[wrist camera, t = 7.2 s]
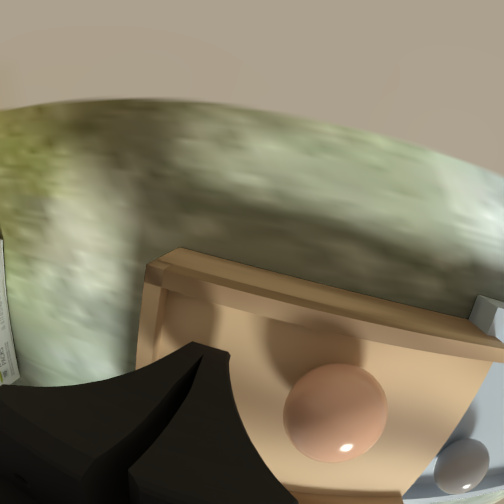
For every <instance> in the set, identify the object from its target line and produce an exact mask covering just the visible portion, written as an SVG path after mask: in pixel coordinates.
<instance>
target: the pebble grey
mask: <svg viewBox="0 0 504 504" xmlns="http://www.w3.org/2000/svg"><path fill="white" fill-rule="evenodd" d="M489 463H490V456H489V452H488V450H487V448H486V446H485V445H484V444H483V443H482V442H480V441H479V440H476V439H472V438H465V439H460V440H457V441H455V442H453V443H451V444H450V445H448V446H447V447H446V448H445V449H444V450H443V451H442V452H441V453H440V455H439V456H438V458H437V460H436V462H435V466H434V471H433V475H434V480H435V483H436V485H437V486H438V487H439V488H440V489H441V490H442V491H444V492H446V493H449V494H461V493H465V492H467V491H469V490H471V489H473V488H474V487H476V486H477V485H478V484H479V483H480V482H481V481H482V479H483V478H484V476H485V475H486V473H487V471H488V468H489Z"/></svg>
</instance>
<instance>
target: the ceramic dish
mask: <svg viewBox="0 0 504 504" xmlns="http://www.w3.org/2000/svg"><path fill="white" fill-rule="evenodd" d="M468 320H469V321H471V322H472V323H473V324H474V325H476V326H477V327H478V328H479V329H480V330H482V331H483V332H484V333H485V334H487V335H490V336H495V337H497V338H498V339H499V340H500V341H502V342H503V343H504V302H502V301H499V300H495V299H492V298H488V297H485V296H481V295H477V298H476V301H475V304H474V306H473V309H472V312H471V314H470V317H469V319H468ZM465 438H472V439H476V440H479V441H480V442H482V443H483V444H484V445H485V446H486V448H487V450H488V452H489V456H490V463H489V468H488V471H487V473H486V475H485V476H484V478H483V479H482V481H481V482H480V483H479V484H478V485H477V486H476V487H474V488H473V489H471V490H469V491H467V492H465V493H461V494H449V493H446V492H444V491H442V490H441V489H440V488H439V487H438V486H437V485H436V483H435V480H434V475H433V471H434V466H435V462H436V460H437V458H438V456H439V455H440V453H441V452H442V451H443V450H444V449H445V448H446V447H447V446H448V445H450V444H451V443H453V442H455V441H457V440H460V439H465ZM501 490H504V363H497V362H493V363H492V365H491V367H490V369H489V371H488V373H487V375H486V377H485V379H484V381H483V383H482V385H481V386H480V388H479V390H478V392H477V394H476V395H475V397H474V399H473V401H472V402H471V404H470V406H469V407H468V409H467V411H466V412H465V414H464V415H463V417H462V418H461V420H460V422H459V423H458V425H457V426H456V428H455V429H454V431H453V432H452V434H451V435H450V437H449V438H448V439H447V441H446V442H445V444H444V445H443V446H442V448H441V449H440V451H439V452H438V453H437V455H436V456H435V457H434V459H433V460H432V461H431V462H430V464H429V465H428V466H427V468H426V469H425V470H424V471H423V473H422V474H421V475H420V476H419V477H418V479H417V480H416V481H415V482H414V483H413V484H412V486H411V487H410V488H409V489H408V490H407V491H406V492H405V494H404V495H403V496H402V500H403V503H404V504H428V503H437V502H444V501H451V500H458V499H464V498H469V497H474V496H479V495H484V494H488V493H493V492H497V491H501Z"/></svg>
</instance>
